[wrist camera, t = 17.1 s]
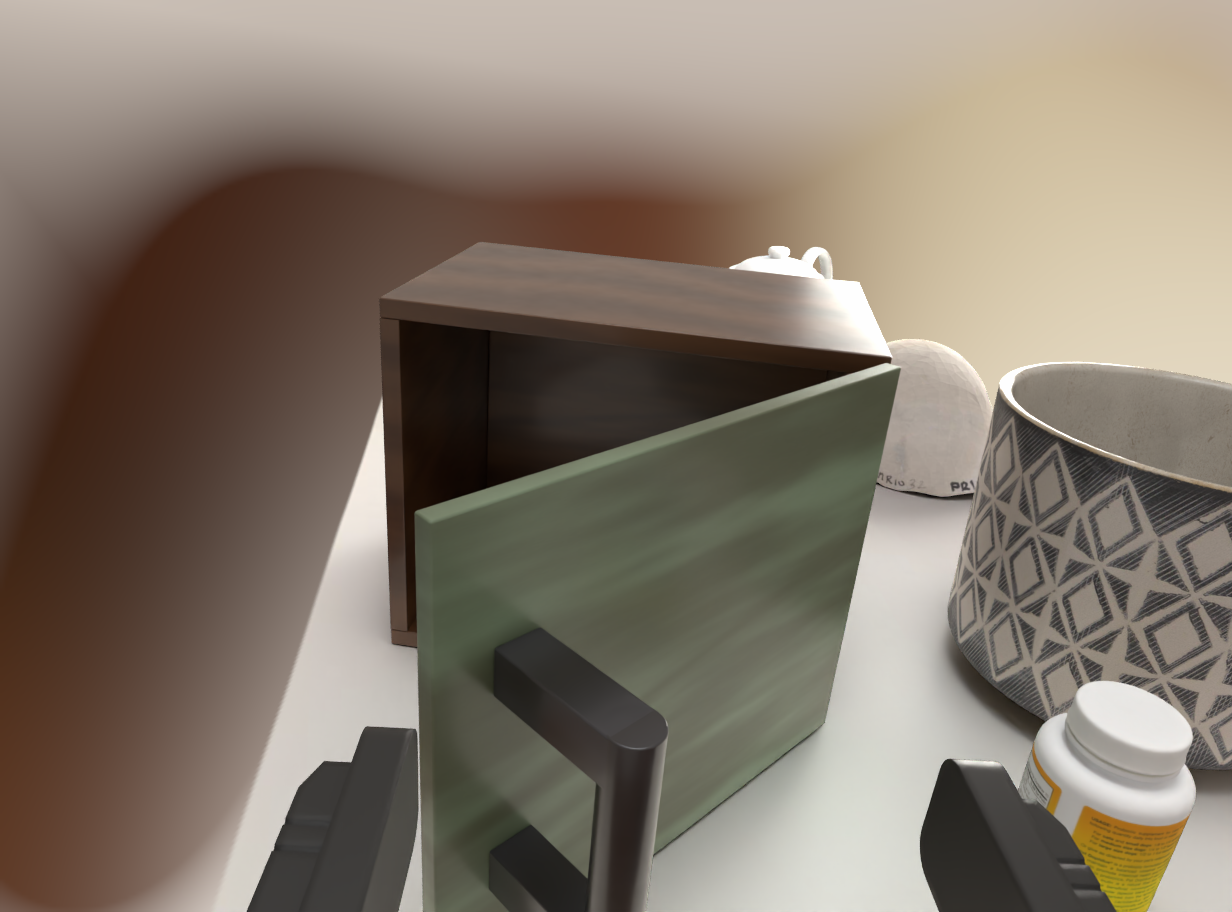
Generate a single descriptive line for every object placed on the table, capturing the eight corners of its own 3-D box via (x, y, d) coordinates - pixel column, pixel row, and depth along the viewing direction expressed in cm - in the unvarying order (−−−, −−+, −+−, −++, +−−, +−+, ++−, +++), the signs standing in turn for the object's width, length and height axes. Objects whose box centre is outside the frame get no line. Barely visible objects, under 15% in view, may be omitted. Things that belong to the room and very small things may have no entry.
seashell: (890, 494, 90) (825, 363, 89) (1029, 444, 82) (960, 301, 81) (858, 552, 77) (782, 401, 76) (1019, 500, 70) (937, 332, 68)
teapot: (863, 389, 98) (887, 268, 93) (701, 381, 97) (716, 257, 91) (819, 342, 115) (837, 236, 110) (680, 333, 114) (692, 226, 108)
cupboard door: (928, 788, 42) (1037, 408, 34) (545, 1168, 27) (584, 629, 19) (812, 715, 47) (885, 362, 39) (423, 1006, 31) (413, 510, 23)
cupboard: (817, 713, 47) (892, 357, 39) (391, 643, 50) (378, 297, 42) (806, 564, 62) (859, 282, 53) (476, 516, 64) (479, 241, 56)
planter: (1253, 639, 57) (1359, 402, 50) (1349, 858, 40) (1525, 549, 34) (944, 562, 63) (1002, 342, 57) (919, 725, 47) (996, 442, 40)
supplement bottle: (1161, 934, 36) (1252, 740, 32) (1074, 991, 33) (1162, 787, 29) (1044, 835, 40) (1111, 653, 36) (960, 878, 38) (1022, 687, 34)
